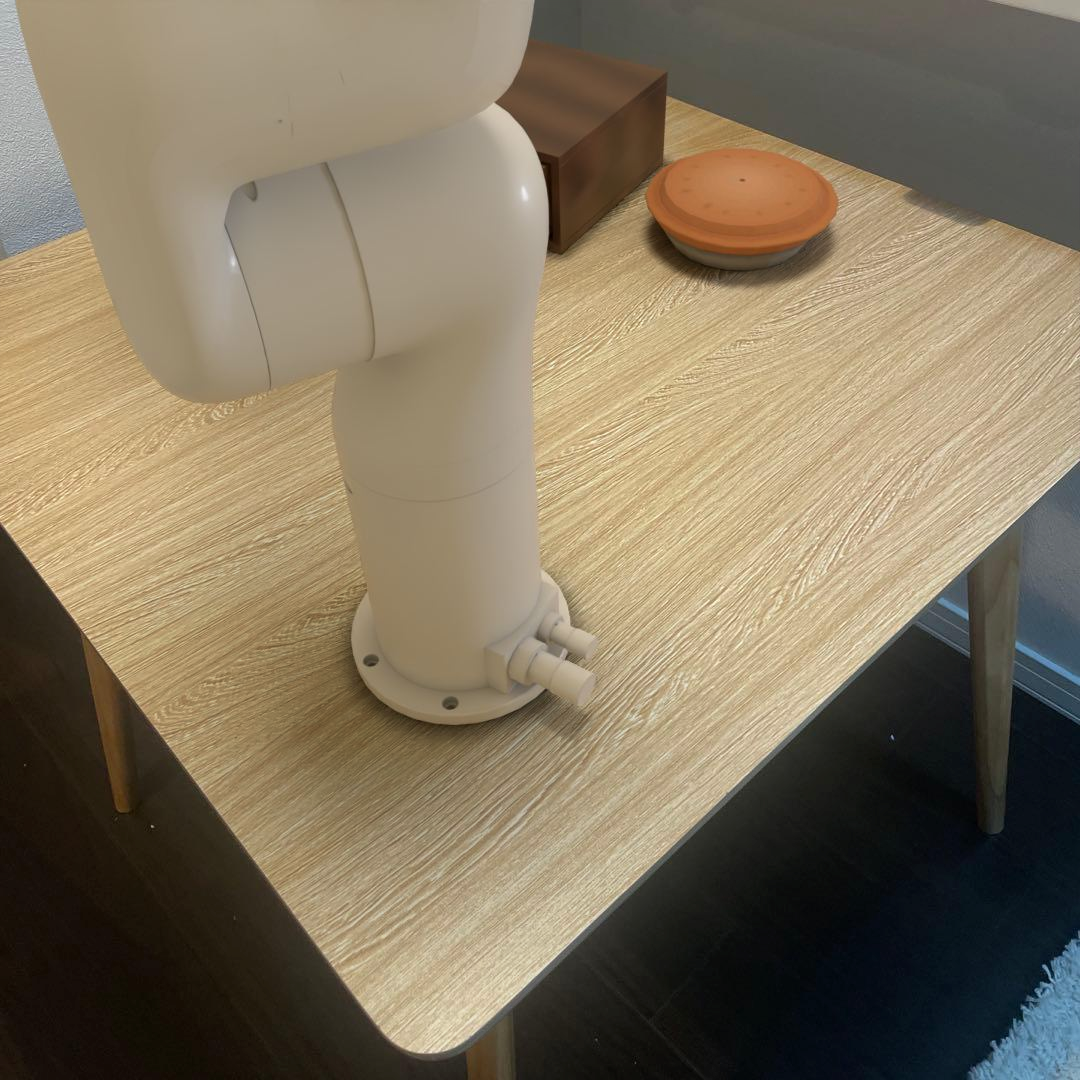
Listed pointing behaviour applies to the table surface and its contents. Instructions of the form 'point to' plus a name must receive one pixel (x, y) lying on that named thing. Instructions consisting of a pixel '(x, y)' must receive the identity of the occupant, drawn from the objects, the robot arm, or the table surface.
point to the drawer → (548, 190)
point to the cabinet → (588, 129)
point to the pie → (740, 207)
